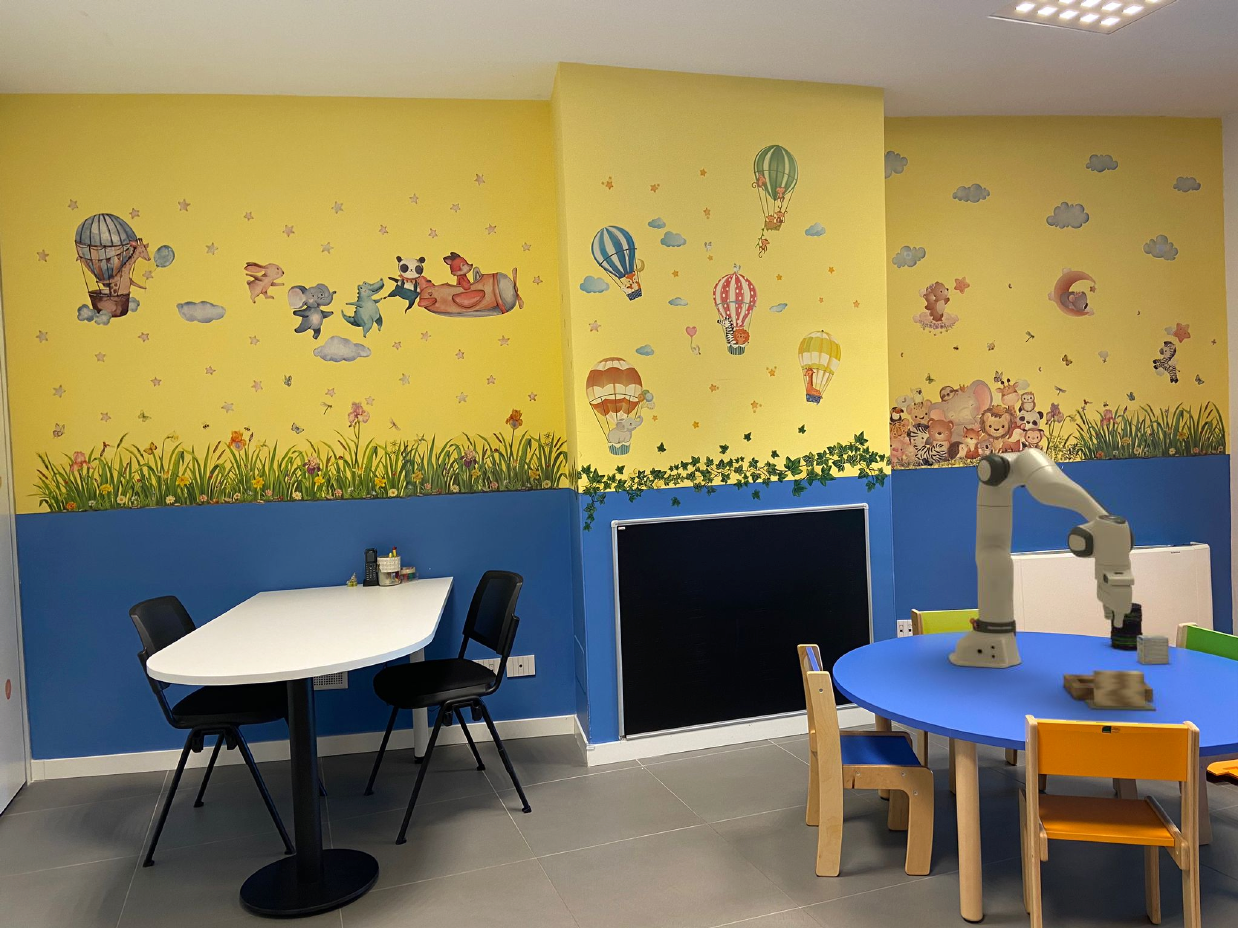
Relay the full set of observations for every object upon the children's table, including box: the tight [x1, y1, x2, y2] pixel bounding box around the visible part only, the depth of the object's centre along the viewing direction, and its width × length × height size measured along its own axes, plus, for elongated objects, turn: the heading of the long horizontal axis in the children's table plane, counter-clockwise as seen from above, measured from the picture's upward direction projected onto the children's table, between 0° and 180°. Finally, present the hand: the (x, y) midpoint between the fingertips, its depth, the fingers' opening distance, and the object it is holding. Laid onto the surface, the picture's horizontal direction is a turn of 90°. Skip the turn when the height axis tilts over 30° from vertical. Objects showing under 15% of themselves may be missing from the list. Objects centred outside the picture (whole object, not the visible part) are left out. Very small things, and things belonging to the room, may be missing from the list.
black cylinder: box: [1110, 602, 1144, 652], centre depth 306 cm, size 10×10×15 cm
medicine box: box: [1136, 634, 1170, 665], centre depth 287 cm, size 8×4×9 cm, turn 84°
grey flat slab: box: [1084, 700, 1157, 712], centre depth 247 cm, size 16×7×1 cm, turn 76°
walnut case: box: [1062, 673, 1154, 702], centre depth 258 cm, size 20×14×4 cm
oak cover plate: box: [1092, 670, 1145, 706], centre depth 247 cm, size 12×3×9 cm, turn 76°
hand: (1113, 622), depth 247 cm, fingers open, 8 cm apart
